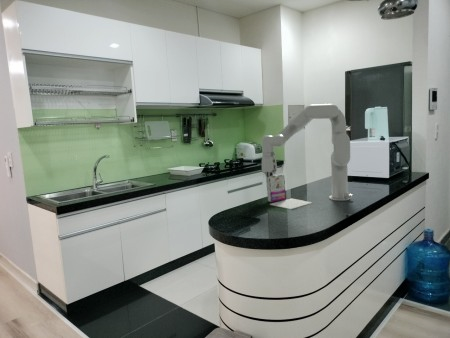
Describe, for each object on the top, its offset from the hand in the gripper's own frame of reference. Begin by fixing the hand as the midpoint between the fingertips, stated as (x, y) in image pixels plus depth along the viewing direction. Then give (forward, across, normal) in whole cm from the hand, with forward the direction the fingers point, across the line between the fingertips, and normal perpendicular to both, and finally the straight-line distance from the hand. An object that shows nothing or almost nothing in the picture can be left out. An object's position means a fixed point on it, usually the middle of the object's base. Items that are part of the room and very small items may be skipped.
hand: (269, 182), depth 222 cm
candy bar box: (+12, -6, 0) cm, 13 cm away
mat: (+12, -18, 0) cm, 22 cm away
